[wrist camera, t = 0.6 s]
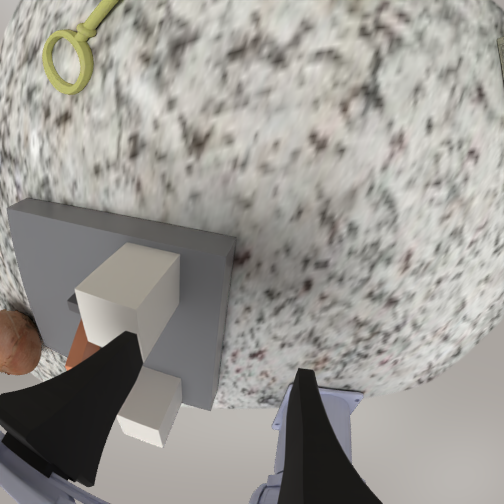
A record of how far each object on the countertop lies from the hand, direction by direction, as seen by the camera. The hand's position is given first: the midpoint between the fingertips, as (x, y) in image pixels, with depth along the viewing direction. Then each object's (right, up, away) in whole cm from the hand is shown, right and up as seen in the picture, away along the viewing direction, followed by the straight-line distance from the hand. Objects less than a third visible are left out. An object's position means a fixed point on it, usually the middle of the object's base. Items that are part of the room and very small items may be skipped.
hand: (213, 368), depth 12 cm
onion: (-31, -6, +20) cm, 37 cm away
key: (-11, +22, +3) cm, 25 cm away
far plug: (-7, -8, +13) cm, 17 cm away
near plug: (-5, +3, +8) cm, 10 cm away
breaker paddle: (-12, -1, +10) cm, 16 cm away
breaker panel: (-11, 0, +14) cm, 18 cm away
